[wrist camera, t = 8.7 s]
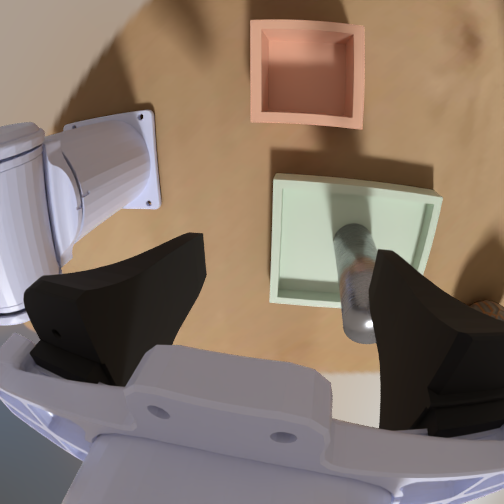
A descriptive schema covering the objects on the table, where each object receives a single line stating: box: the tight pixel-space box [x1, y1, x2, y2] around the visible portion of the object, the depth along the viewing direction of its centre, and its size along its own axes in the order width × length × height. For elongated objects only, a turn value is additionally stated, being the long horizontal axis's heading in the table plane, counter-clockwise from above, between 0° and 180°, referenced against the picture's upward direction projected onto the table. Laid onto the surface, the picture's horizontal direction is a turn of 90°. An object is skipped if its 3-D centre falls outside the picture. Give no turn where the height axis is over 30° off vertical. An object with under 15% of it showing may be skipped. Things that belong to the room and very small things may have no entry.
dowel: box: [333, 223, 377, 344], centre depth 18 cm, size 3×3×9 cm
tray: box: [270, 173, 443, 308], centre depth 21 cm, size 12×10×2 cm
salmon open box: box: [250, 20, 365, 130], centre depth 15 cm, size 6×6×4 cm
